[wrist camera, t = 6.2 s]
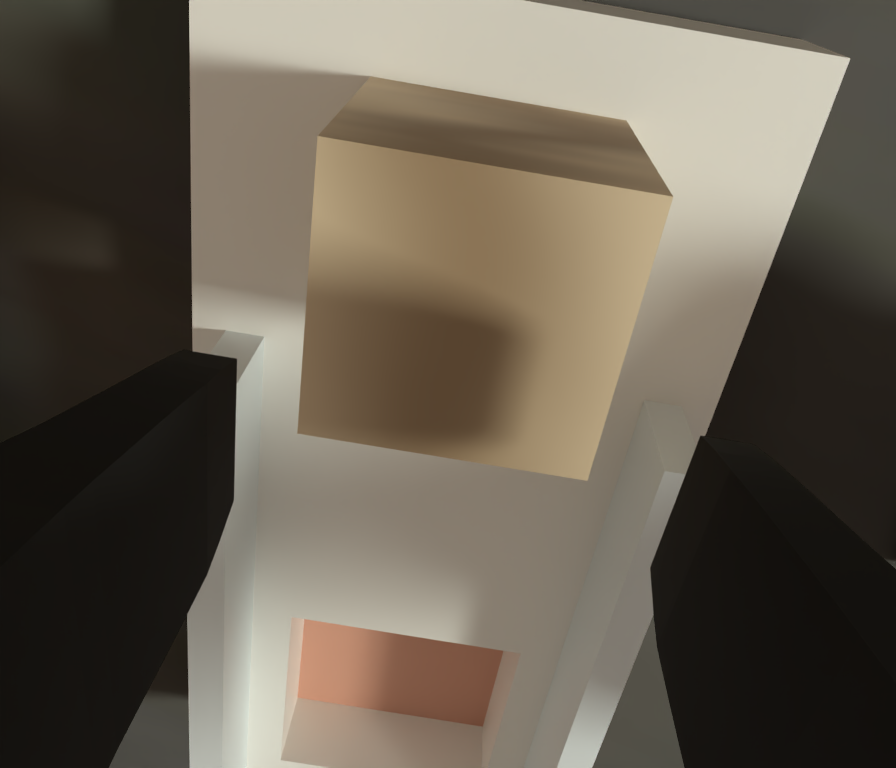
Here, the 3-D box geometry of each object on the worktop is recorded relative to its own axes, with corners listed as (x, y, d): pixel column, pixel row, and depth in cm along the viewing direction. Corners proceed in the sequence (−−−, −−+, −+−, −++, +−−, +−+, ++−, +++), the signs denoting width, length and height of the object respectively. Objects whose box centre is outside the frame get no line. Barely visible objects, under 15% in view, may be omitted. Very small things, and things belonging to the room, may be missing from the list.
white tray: (801, 39, 15) (918, 84, 11) (551, 749, 26) (560, 911, 22) (234, -61, 15) (124, -56, 11) (222, 698, 26) (165, 851, 22)
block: (626, 120, 14) (673, 196, 10) (567, 346, 16) (587, 480, 12) (371, 76, 14) (317, 135, 10) (348, 309, 16) (297, 433, 12)
